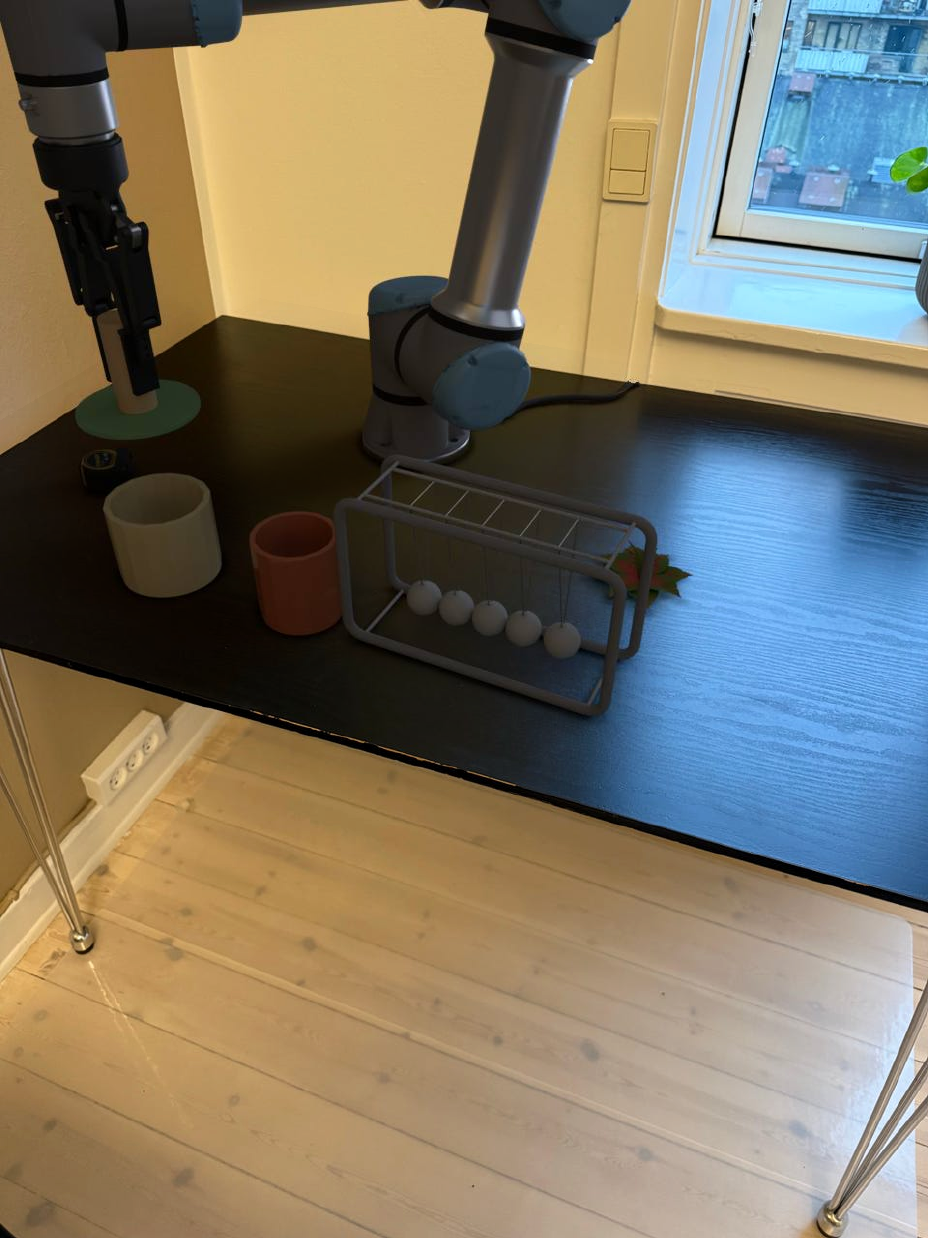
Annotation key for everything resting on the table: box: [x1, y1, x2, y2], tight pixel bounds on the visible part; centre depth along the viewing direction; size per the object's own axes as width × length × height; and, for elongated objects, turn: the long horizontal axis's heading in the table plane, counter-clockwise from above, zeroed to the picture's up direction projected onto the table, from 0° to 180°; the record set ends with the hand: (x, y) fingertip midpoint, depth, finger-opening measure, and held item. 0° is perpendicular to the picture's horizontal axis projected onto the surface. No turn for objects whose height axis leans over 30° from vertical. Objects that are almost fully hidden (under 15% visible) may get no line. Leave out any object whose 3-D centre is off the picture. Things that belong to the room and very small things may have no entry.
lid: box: [74, 309, 202, 441], centre depth 97 cm, size 13×13×11 cm
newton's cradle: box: [332, 454, 658, 717], centre depth 96 cm, size 30×10×18 cm, turn 64°
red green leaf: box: [599, 539, 694, 610], centre depth 110 cm, size 12×12×5 cm
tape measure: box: [77, 446, 136, 493], centre depth 126 cm, size 7×7×4 cm
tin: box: [102, 472, 223, 599], centre depth 110 cm, size 11×11×10 cm
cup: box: [249, 510, 342, 636], centre depth 104 cm, size 9×9×10 cm
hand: (133, 383), depth 98 cm, fingers closed on lid, 4 cm apart
